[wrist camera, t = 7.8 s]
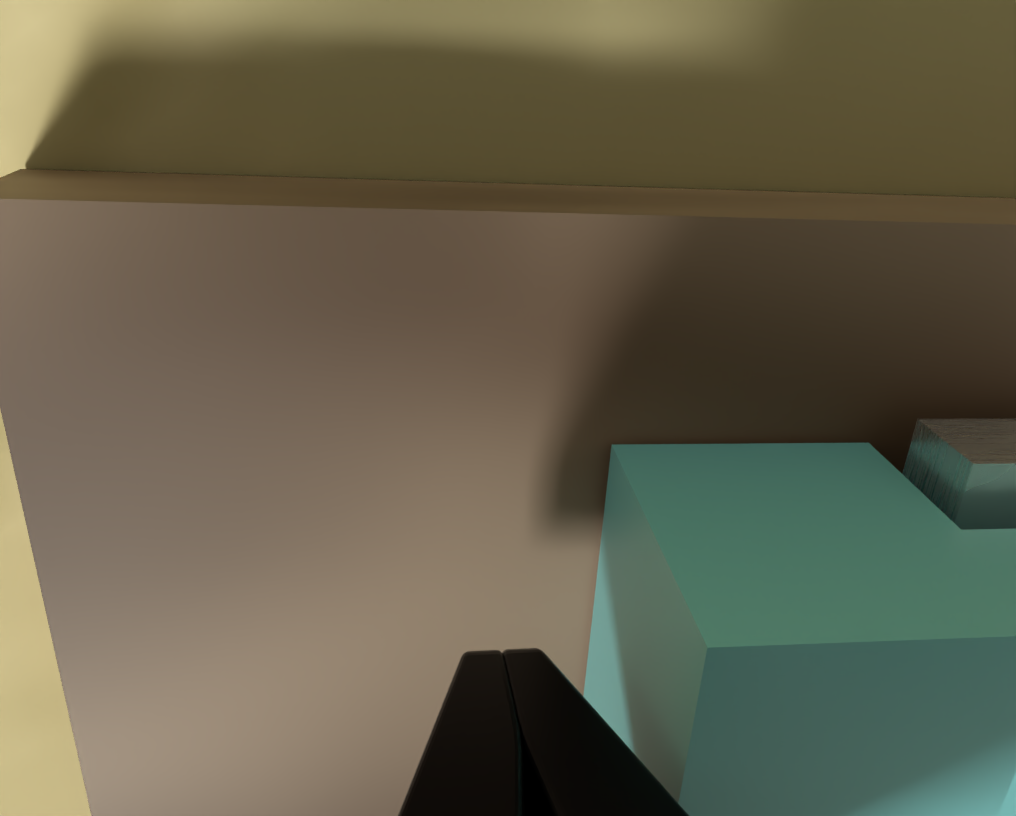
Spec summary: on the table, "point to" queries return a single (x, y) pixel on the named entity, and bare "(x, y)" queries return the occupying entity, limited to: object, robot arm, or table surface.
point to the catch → (803, 634)
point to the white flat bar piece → (966, 469)
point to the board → (414, 431)
